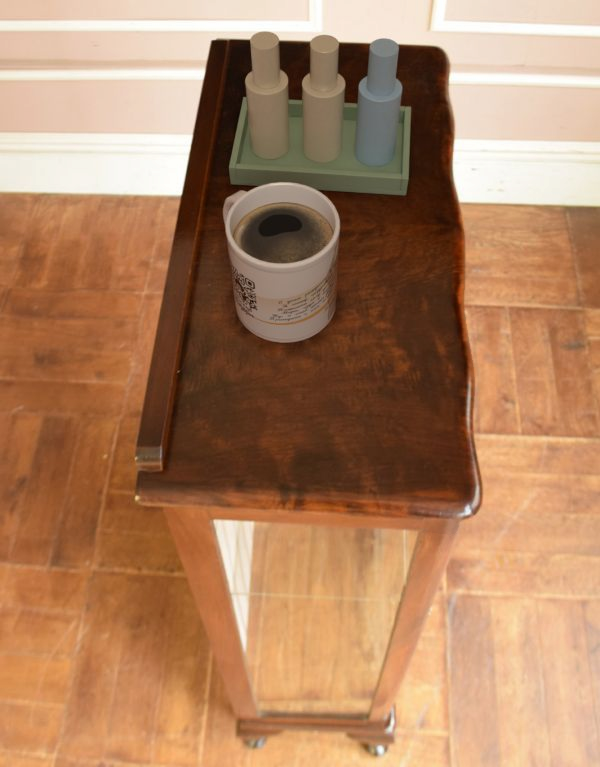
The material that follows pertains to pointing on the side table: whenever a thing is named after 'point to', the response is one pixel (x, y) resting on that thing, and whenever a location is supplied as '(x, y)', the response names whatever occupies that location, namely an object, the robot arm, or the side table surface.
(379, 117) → the blue bottle
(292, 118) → the tray
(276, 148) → the cream bottle
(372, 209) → the side table surface
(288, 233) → the mug
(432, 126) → the side table surface
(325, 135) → the cream bottle
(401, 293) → the side table surface
